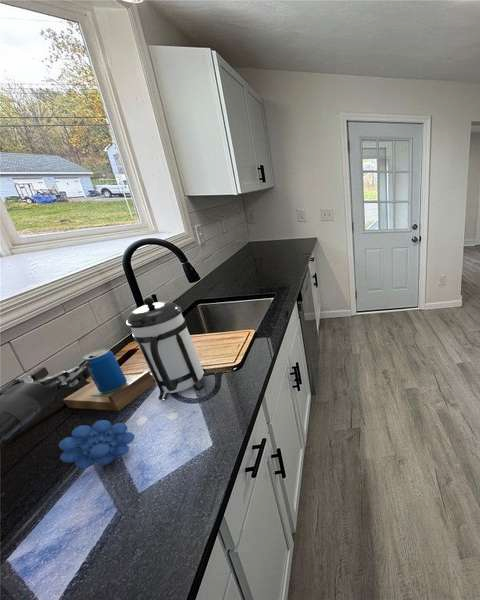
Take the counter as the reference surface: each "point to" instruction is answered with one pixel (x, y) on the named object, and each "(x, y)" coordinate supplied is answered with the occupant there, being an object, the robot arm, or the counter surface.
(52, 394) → the robot arm
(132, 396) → the shallow wooden tray
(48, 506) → the counter surface
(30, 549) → the counter surface
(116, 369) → the beverage can
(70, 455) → the blue lobed cluster
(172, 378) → the coffee press
